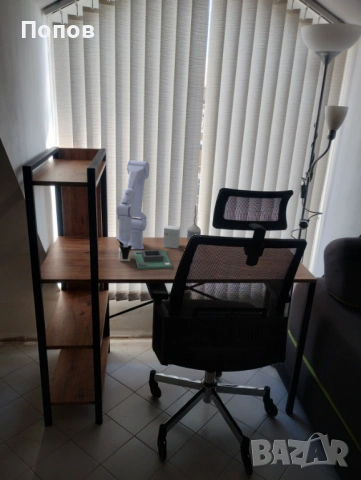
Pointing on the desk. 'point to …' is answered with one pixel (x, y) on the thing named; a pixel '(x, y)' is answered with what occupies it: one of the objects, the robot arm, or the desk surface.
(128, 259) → the plug block
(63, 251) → the desk surface
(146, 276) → the desk surface
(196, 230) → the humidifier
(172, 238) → the small box
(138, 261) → the board
